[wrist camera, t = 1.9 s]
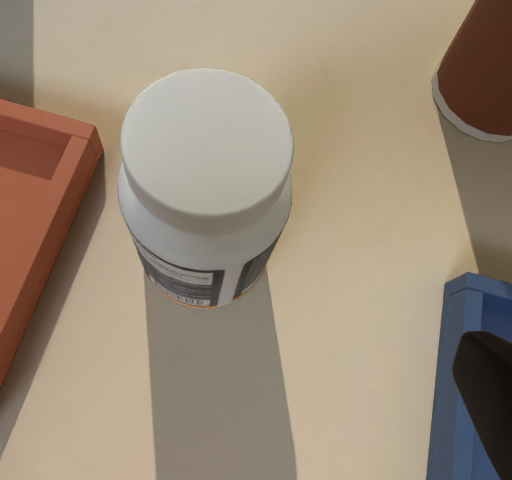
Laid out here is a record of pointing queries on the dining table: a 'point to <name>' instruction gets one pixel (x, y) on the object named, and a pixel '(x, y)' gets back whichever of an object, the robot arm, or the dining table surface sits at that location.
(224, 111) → the pill bottle
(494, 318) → the blue tray
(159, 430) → the dining table surface
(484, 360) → the robot arm
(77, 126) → the terracotta tray
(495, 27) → the coffee cup
